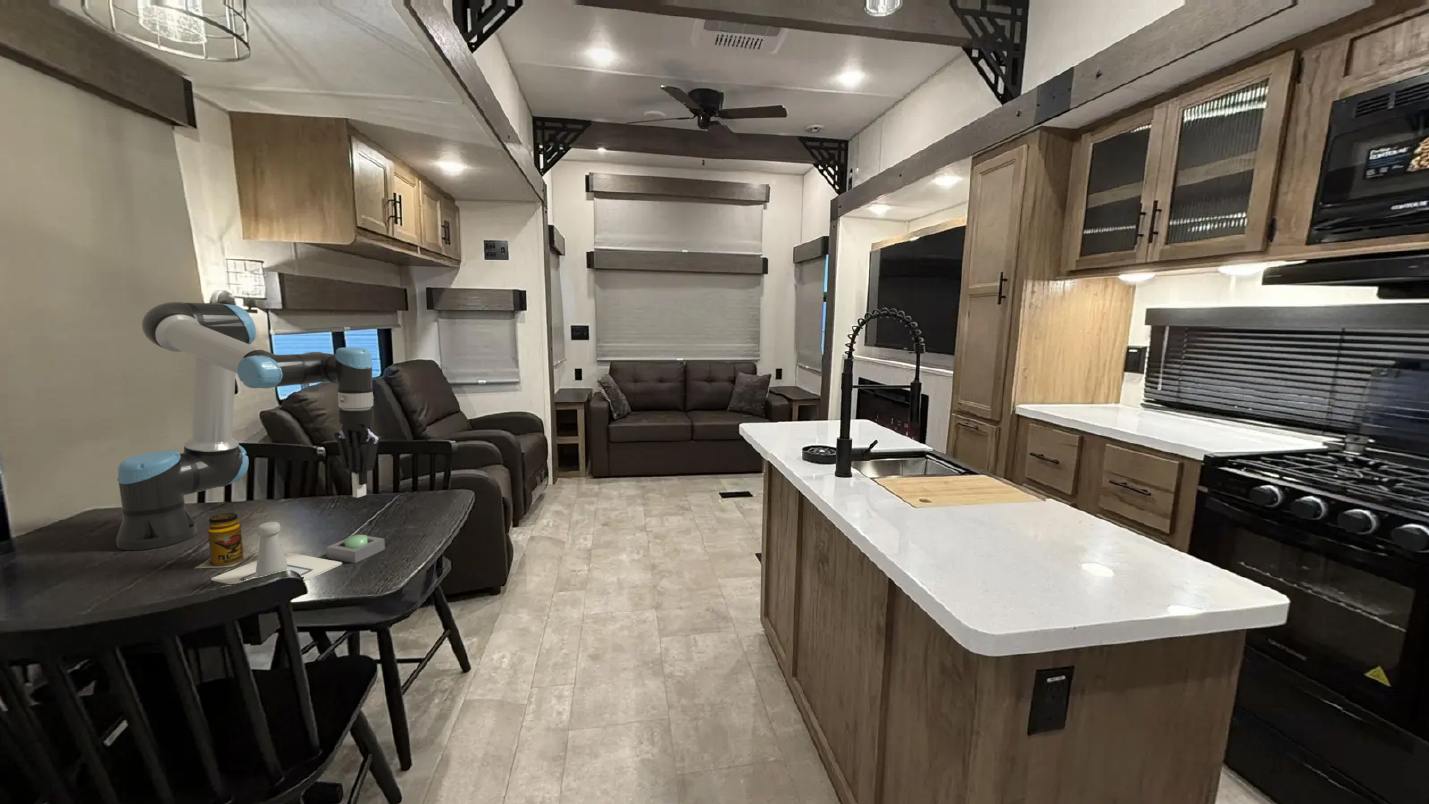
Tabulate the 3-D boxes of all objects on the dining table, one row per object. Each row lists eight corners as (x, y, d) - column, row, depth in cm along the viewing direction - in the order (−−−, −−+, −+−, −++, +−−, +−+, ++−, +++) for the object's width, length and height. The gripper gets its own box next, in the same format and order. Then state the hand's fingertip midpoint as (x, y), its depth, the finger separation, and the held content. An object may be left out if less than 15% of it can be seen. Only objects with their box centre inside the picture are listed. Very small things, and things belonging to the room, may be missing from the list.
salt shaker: (270, 583, 125) (265, 529, 123) (250, 580, 126) (245, 526, 124) (294, 572, 130) (290, 520, 128) (275, 569, 131) (270, 518, 130)
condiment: (234, 566, 133) (230, 520, 132) (193, 569, 131) (188, 522, 130) (252, 554, 140) (248, 510, 139) (213, 556, 138) (209, 511, 137)
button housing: (327, 558, 140) (326, 547, 139) (358, 544, 148) (357, 534, 148) (355, 563, 138) (354, 551, 137) (384, 549, 146) (384, 538, 146)
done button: (340, 555, 141) (339, 540, 141) (357, 547, 146) (356, 533, 145) (356, 558, 140) (355, 543, 139) (372, 550, 145) (371, 536, 144)
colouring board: (211, 580, 126) (210, 577, 126) (281, 553, 142) (281, 550, 142) (277, 594, 121) (276, 591, 121) (342, 564, 137) (342, 561, 137)
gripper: (322, 407, 138) (326, 496, 141) (363, 412, 134) (367, 503, 138) (349, 403, 145) (352, 488, 148) (388, 408, 142) (391, 495, 145)
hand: (359, 495), depth 143 cm, fingers closed
